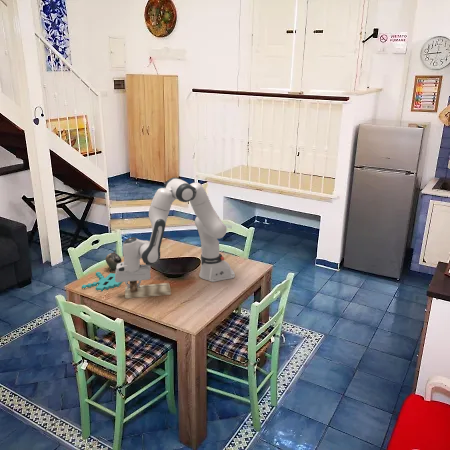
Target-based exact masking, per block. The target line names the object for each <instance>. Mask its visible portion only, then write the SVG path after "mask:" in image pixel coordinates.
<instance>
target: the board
mask: <svg viewBox="0 0 450 450" xmlns="http://www.w3.org/2000/svg"><path fill="white" fill-rule="evenodd" d="M170 284H171V283H170V282H164V283H152V284H140V287H137V291H135V292H130V288H128V287H127V286H125V287H124V298H125V299H126V300H127V299H128V300H129V299H137V298H138V299H139V298H147V297H158V296H159V297H161V296H169V295H172V289H171V286H170Z"/></svg>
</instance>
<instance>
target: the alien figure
mask: <svg viewBox="0 0 450 450" xmlns="http://www.w3.org/2000/svg"><path fill="white" fill-rule="evenodd" d="M95 276H96V277H97V278H98V281H93V282H92V283H91V282H90V283H88V284H82V285H81V289H82V288H86V287H91V286H92V287H94V286H96V285H97V284H98V285H97V286H96V287H95V291H96V290H101V291H100V292H104V291H105V290H104V289H106V291H108V290H109V289H112V288H113V289H114V288H119V287H120V286H121V285H122V283H123V282H116V281H115V273H114V272H113V273H112V272H109V274H108V275H107V276H106V277H105V276H104V275H103V273H101V271H96V272H95ZM92 287H91V288H92ZM86 289H87V288H86ZM103 290H104V291H103Z"/></svg>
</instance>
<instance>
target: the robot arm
mask: <svg viewBox="0 0 450 450" xmlns="http://www.w3.org/2000/svg"><path fill="white" fill-rule="evenodd" d="M175 200H177V201H180V202H182V203H188V202H189V204H190V205H191V208H192V210H193V212H194V214H195V219H194V225H195V228H196V229H197V232H198V235H199V240H200V244H201V245H200V246H201V247H200V248H201V254H200V271H199V275H198V277H200V278H201V279H203V280H206V281H209V282H211V283H216V282H219V281H225V280H231V279H234V278H235V277H236V275H235V271H234V269H232V268H231V265H230V263H229V262H228V261H226V260H225V257H224V256H223V255H222V254H221V253H220V241H219V239H223V238H224V236H226V233H227V226H226V225H225V223H224V222H223V221H222V220H221V218H220V216H219V215H218V214H217V212H216V211H215V209H214V207H213V205H212V203H211V201H210V198H209V196H208V194H207V192H206V190H205V188H204V187H203V185H202V184H201V183H199V182H192V183H190V184H189V183H188V182H187V181H185V180H183V179H181V178H179V177H171V178H169V179H168V180H167V181H166V182H165V184H164V185H163V187H160V188H158V189H157V190H156V191H155V193H154V196H153V197H152V200H151V204H150V205H149V210H148V218H149V221H150V224H151V235H150V239H149V240H145V239H144V240H143V239H138V238H137V237H135V236H134V237H128V238H126V239H125V240H124V241H123V244H122V245H123V246H122V253H123V255H122V256H123V261H122V262H121V263H119V264H117V266H116V271H115V273H114V274H115V281H116V282H122V283H125V285H126V287H128V288H130V283H128V282H130V281H137V287H140V285H141V284H142V281H149V280H150V279H151V278H152V277H151V270H152V267H151V266H154V265H155V264H157V263H158V262H159V261H160V259H161V245H162V242H163V238H164V234H165V230H166V224H167V220H168V216H169V213H170V211H171V208H172V204H173V202H174V201H175ZM140 260H142V262H143V263H144V264H141V262H140Z"/></svg>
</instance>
